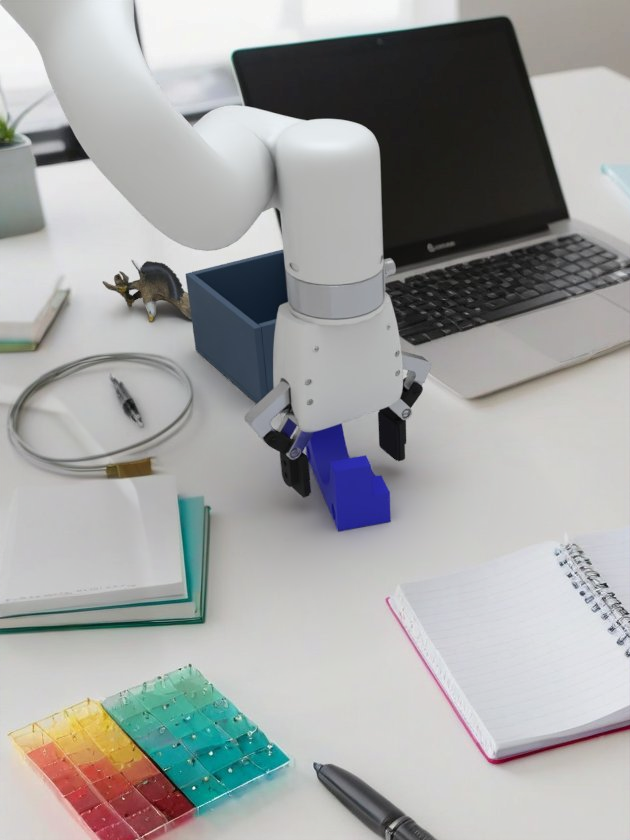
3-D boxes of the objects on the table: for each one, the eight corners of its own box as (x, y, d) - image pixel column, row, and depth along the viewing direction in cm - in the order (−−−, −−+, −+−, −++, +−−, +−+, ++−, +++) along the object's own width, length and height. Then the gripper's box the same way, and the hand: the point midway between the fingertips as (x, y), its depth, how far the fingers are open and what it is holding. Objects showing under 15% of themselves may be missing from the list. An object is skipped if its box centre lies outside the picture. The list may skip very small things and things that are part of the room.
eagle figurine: (103, 320, 122) (183, 313, 120) (99, 252, 122) (178, 244, 120) (139, 328, 129) (214, 322, 128) (135, 264, 129) (210, 257, 127)
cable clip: (390, 521, 97) (388, 462, 93) (338, 531, 96) (334, 471, 92) (354, 447, 106) (351, 390, 102) (306, 455, 105) (301, 398, 101)
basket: (262, 409, 111) (254, 328, 106) (195, 350, 120) (184, 273, 115) (363, 376, 117) (360, 298, 112) (292, 322, 126) (286, 248, 121)
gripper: (401, 246, 96) (405, 422, 107) (211, 297, 87) (235, 483, 98) (454, 278, 92) (453, 459, 102) (258, 335, 83) (278, 527, 93)
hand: (346, 470), depth 100 cm, fingers open, 9 cm apart
